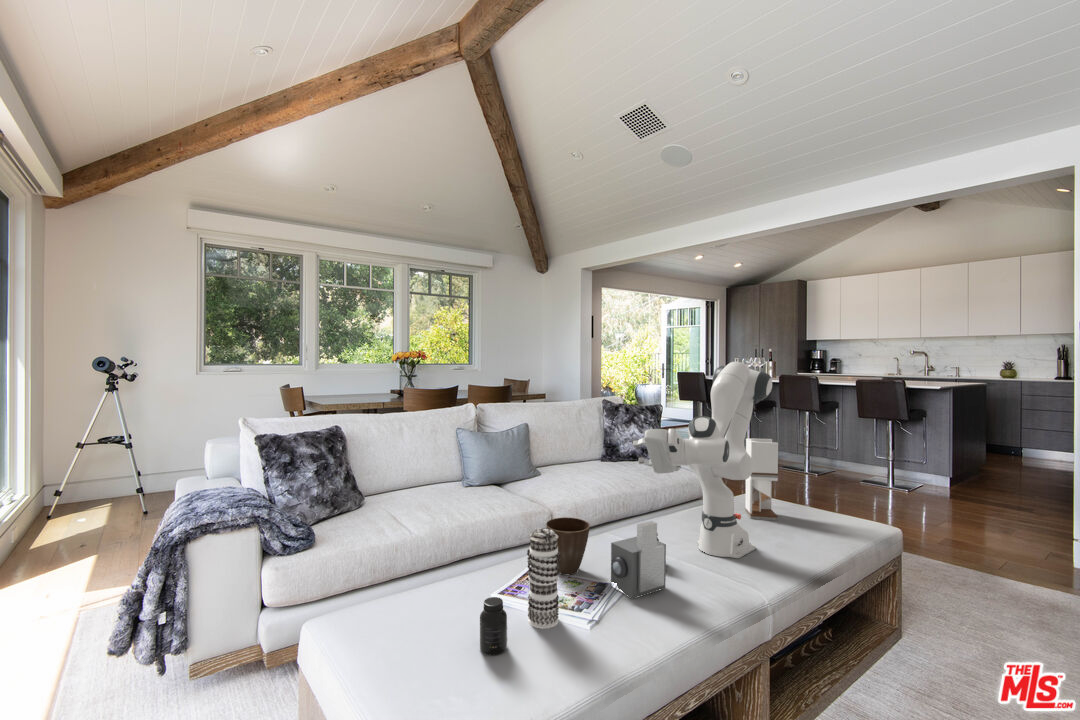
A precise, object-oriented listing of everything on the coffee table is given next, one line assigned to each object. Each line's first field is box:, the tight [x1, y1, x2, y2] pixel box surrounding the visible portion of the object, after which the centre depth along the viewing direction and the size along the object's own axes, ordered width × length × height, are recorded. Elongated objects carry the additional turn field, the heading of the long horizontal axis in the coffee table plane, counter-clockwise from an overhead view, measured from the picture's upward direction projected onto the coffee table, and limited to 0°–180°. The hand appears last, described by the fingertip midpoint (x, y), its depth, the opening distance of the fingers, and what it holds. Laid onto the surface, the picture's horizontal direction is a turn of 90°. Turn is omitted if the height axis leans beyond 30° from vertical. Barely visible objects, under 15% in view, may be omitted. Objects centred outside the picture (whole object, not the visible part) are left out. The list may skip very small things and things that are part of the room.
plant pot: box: [545, 516, 591, 576], centre depth 177 cm, size 15×15×16 cm
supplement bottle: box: [479, 596, 508, 656], centre depth 130 cm, size 7×7×12 cm
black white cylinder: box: [526, 527, 560, 630], centre depth 144 cm, size 9×9×25 cm
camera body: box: [610, 536, 667, 599], centre depth 164 cm, size 16×10×14 cm, turn 122°
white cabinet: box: [744, 437, 779, 521], centre depth 240 cm, size 11×11×35 cm
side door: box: [636, 520, 665, 593], centre depth 160 cm, size 10×2×20 cm, turn 122°
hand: (635, 452), depth 177 cm, fingers open, 8 cm apart
